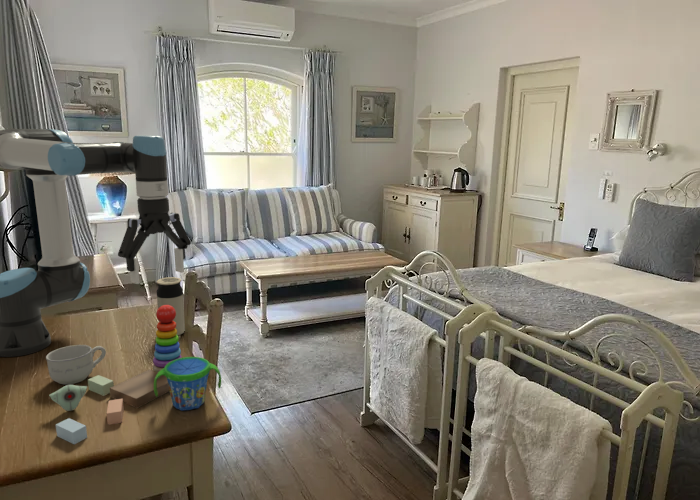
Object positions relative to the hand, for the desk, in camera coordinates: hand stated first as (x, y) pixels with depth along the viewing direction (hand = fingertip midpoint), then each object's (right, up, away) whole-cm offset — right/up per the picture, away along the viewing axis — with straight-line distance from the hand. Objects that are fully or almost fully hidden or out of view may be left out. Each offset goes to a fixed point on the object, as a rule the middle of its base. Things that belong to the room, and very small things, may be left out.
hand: (158, 277), depth 135 cm
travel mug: (-8, -20, +33) cm, 39 cm away
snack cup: (+11, -31, -10) cm, 34 cm away
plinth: (-2, -29, -5) cm, 30 cm away
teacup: (-22, -27, +1) cm, 35 cm away
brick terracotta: (-4, -32, -17) cm, 36 cm away
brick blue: (-10, -34, -25) cm, 43 cm away
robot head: (-15, -31, -15) cm, 38 cm away
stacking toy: (0, -26, +7) cm, 27 cm away
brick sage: (-13, -29, -5) cm, 32 cm away
